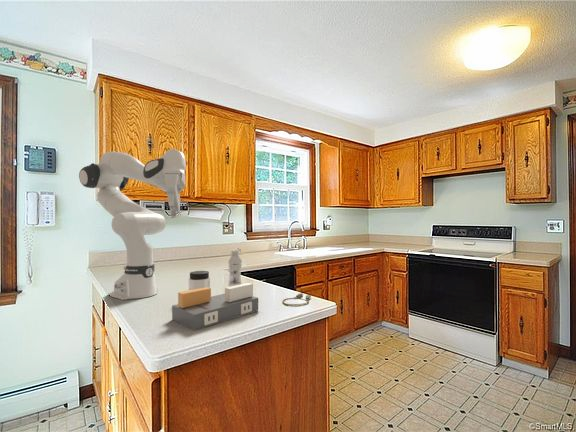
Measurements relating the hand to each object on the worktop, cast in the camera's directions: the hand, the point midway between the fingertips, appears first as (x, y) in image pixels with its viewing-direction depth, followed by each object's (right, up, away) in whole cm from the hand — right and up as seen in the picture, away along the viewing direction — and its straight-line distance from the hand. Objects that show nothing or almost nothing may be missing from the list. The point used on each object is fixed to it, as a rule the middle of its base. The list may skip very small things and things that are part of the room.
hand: (172, 211), depth 115 cm
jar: (+6, -39, +14) cm, 42 cm away
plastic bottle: (+20, -39, +27) cm, 51 cm away
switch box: (+17, -38, -5) cm, 42 cm away
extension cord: (+50, -39, +11) cm, 64 cm away
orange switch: (+12, -33, -11) cm, 37 cm away
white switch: (+27, -33, -4) cm, 43 cm away
